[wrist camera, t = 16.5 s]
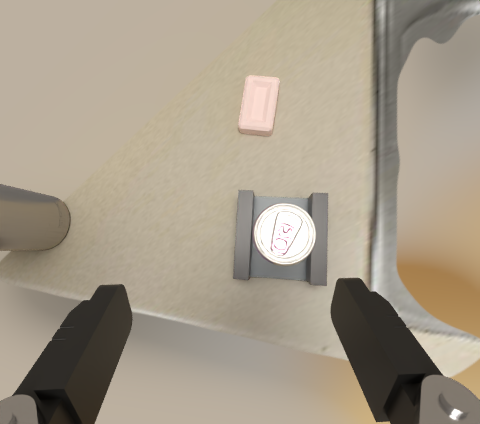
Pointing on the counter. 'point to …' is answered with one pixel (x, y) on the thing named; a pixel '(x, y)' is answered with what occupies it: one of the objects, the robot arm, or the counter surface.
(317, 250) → the duct channel
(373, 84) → the counter surface
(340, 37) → the counter surface
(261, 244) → the beverage can
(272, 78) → the soap bar
